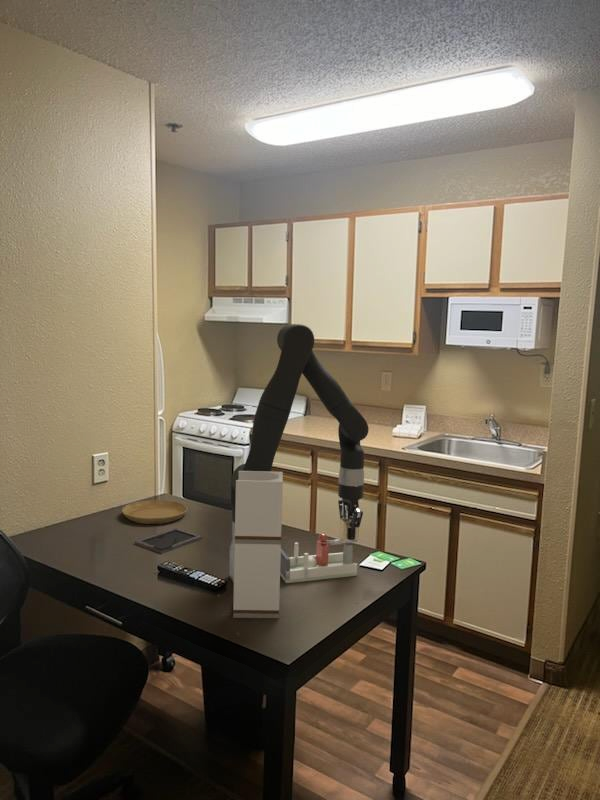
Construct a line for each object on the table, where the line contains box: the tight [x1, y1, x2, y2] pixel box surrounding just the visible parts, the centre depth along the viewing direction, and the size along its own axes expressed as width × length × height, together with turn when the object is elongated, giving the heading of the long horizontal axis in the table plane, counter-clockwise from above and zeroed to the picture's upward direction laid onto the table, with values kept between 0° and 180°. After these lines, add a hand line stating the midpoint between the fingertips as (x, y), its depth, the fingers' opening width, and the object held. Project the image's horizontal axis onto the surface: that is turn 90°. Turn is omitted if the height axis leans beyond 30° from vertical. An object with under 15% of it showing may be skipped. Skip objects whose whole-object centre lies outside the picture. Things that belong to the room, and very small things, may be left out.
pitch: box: [280, 542, 358, 584], centre depth 181 cm, size 22×10×8 cm, turn 109°
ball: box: [303, 557, 317, 568], centre depth 181 cm, size 4×4×4 cm
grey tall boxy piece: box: [232, 470, 284, 619], centre depth 156 cm, size 11×11×35 cm
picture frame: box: [134, 527, 204, 554], centre depth 204 cm, size 13×2×18 cm
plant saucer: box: [121, 499, 188, 525], centre depth 231 cm, size 24×24×3 cm
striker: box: [315, 517, 360, 567], centre depth 183 cm, size 12×5×14 cm, turn 109°
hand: (349, 537), depth 184 cm, fingers closed on striker, 3 cm apart
